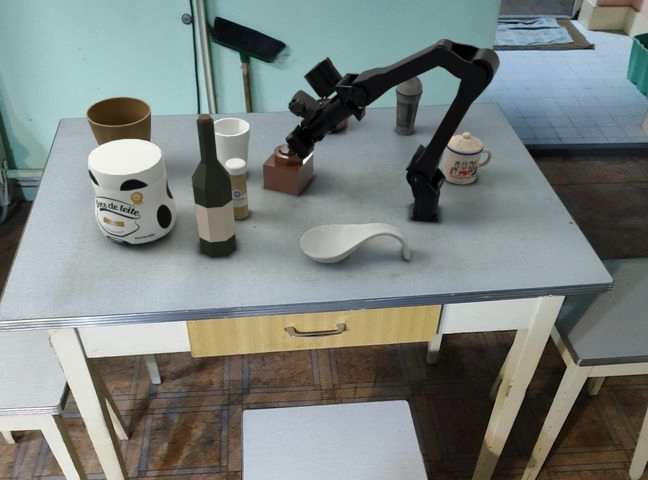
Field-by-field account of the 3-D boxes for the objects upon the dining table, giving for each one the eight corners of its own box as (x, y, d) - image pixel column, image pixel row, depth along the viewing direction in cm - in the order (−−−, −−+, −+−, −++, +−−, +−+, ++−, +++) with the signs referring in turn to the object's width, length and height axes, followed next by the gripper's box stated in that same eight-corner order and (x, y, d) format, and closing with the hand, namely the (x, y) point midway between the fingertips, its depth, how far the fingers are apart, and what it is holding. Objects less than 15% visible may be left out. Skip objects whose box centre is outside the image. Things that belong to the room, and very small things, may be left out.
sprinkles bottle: (231, 221, 154) (227, 169, 144) (227, 211, 157) (223, 158, 147) (251, 218, 155) (248, 166, 145) (246, 208, 158) (243, 156, 148)
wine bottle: (231, 260, 143) (219, 129, 122) (193, 255, 144) (175, 124, 123) (242, 238, 149) (232, 109, 128) (206, 233, 150) (190, 104, 129)
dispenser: (313, 176, 169) (313, 145, 163) (297, 196, 162) (297, 164, 156) (280, 169, 171) (280, 138, 165) (263, 188, 164) (262, 156, 158)
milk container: (101, 257, 143) (82, 182, 131) (98, 213, 155) (80, 141, 142) (183, 245, 147) (172, 172, 134) (174, 203, 159) (163, 132, 146)
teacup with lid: (445, 186, 167) (453, 143, 159) (437, 167, 173) (444, 125, 165) (492, 184, 168) (502, 141, 160) (482, 166, 174) (491, 123, 166)
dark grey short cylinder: (299, 155, 163) (299, 147, 161) (292, 163, 160) (292, 154, 159) (284, 152, 164) (284, 143, 162) (277, 159, 161) (277, 151, 160)
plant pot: (89, 169, 169) (74, 108, 158) (141, 150, 176) (130, 91, 165) (119, 193, 161) (105, 131, 150) (172, 173, 168) (162, 112, 157)
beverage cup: (417, 125, 190) (426, 54, 176) (417, 138, 185) (427, 65, 170) (391, 124, 190) (399, 52, 176) (391, 136, 185) (398, 63, 171)
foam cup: (209, 182, 166) (204, 133, 157) (222, 164, 172) (217, 115, 163) (245, 187, 164) (242, 138, 155) (257, 169, 171) (254, 120, 162)
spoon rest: (301, 272, 141) (301, 244, 136) (299, 239, 150) (299, 212, 144) (412, 270, 142) (416, 243, 137) (404, 238, 151) (408, 211, 146)
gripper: (326, 67, 153) (282, 104, 164) (293, 100, 141) (249, 138, 151) (356, 107, 157) (311, 141, 167) (327, 142, 144) (281, 176, 155)
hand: (288, 148), depth 160 cm, fingers closed, pressing on dark grey short cylinder
